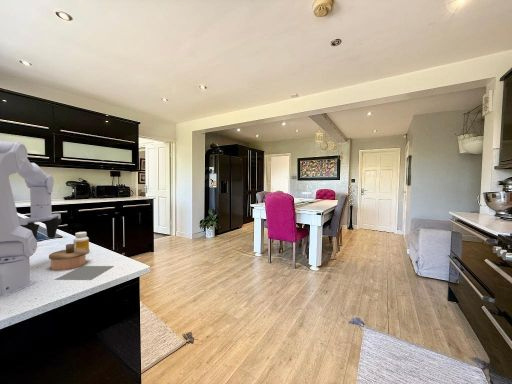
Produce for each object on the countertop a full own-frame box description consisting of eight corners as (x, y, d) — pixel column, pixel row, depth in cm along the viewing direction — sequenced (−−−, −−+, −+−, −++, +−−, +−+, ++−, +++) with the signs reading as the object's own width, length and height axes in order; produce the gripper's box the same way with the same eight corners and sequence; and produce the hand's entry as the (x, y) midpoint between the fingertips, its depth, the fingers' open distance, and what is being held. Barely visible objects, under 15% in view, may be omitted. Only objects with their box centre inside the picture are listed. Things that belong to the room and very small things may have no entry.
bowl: (71, 271, 81) (71, 259, 81) (43, 271, 81) (43, 258, 81) (91, 261, 91) (91, 250, 91) (66, 261, 91) (66, 250, 91)
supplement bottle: (92, 253, 102) (91, 231, 102) (79, 256, 97) (79, 234, 97) (83, 251, 104) (82, 231, 103) (70, 255, 98) (70, 233, 98)
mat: (91, 281, 73) (91, 279, 73) (54, 280, 73) (54, 279, 73) (114, 267, 85) (114, 266, 85) (82, 267, 85) (82, 265, 85)
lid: (71, 260, 80) (71, 249, 80) (39, 259, 80) (39, 248, 80) (97, 250, 92) (96, 240, 92) (68, 249, 92) (68, 240, 92)
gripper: (32, 207, 78) (34, 245, 79) (67, 203, 93) (68, 235, 93) (12, 206, 78) (13, 245, 79) (50, 203, 93) (51, 235, 93)
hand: (42, 240), depth 86 cm, fingers open, 7 cm apart
